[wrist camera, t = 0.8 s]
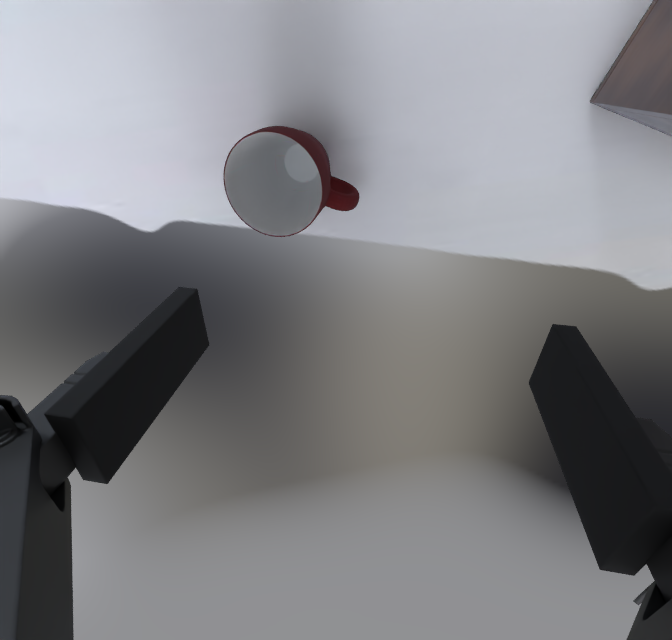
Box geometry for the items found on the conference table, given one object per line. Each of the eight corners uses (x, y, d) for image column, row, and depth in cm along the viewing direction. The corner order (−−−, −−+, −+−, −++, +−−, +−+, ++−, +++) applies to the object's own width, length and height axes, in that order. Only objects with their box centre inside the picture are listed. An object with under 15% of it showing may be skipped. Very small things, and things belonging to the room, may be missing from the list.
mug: (377, 135, 35) (367, 154, 27) (356, 218, 40) (342, 256, 31) (268, 106, 35) (224, 117, 27) (260, 192, 40) (220, 223, 31)
